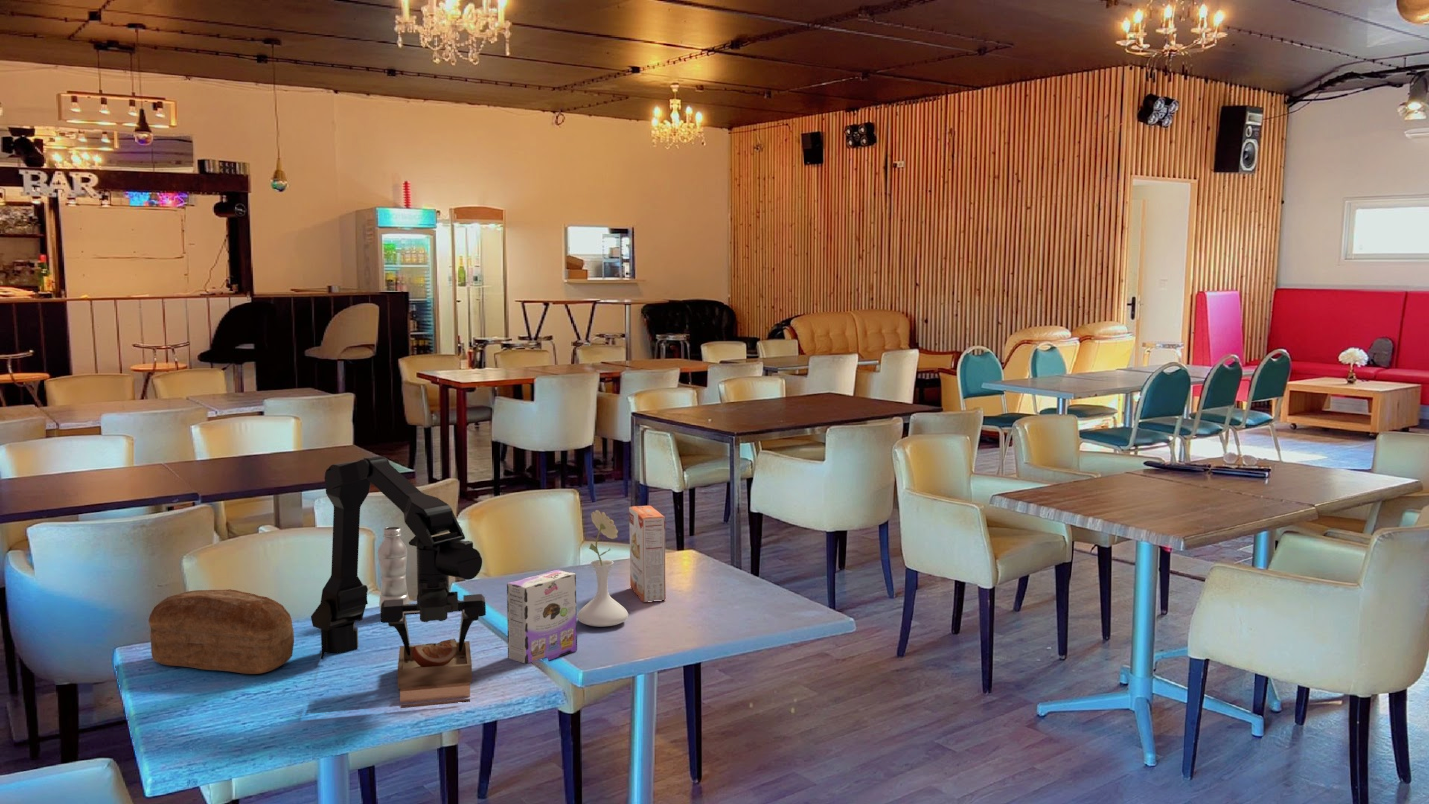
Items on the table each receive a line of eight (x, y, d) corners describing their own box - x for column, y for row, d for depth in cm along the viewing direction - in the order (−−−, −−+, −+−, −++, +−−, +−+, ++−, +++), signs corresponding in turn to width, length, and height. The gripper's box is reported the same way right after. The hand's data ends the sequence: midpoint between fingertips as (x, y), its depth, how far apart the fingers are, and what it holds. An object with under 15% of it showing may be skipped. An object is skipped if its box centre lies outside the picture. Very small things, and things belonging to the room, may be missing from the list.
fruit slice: (447, 659, 204) (447, 634, 203) (464, 668, 199) (464, 642, 198) (406, 668, 198) (406, 642, 198) (423, 677, 193) (422, 650, 193)
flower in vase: (635, 627, 233) (634, 515, 231) (584, 633, 229) (583, 519, 226) (618, 611, 245) (617, 504, 243) (569, 616, 241) (568, 508, 239)
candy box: (558, 645, 221) (557, 568, 220) (578, 651, 217) (577, 572, 216) (506, 662, 211) (505, 581, 209) (526, 669, 207) (525, 586, 205)
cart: (398, 693, 191) (397, 671, 190) (400, 667, 204) (399, 646, 204) (472, 686, 194) (471, 664, 193) (469, 661, 207) (469, 640, 207)
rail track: (399, 708, 187) (398, 691, 187) (403, 656, 214) (403, 641, 214) (471, 701, 190) (470, 685, 190) (466, 651, 217) (466, 637, 217)
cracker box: (628, 588, 265) (628, 505, 263) (652, 586, 266) (651, 504, 264) (641, 603, 251) (641, 517, 249) (666, 601, 253) (666, 515, 251)
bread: (185, 648, 219) (182, 580, 217) (303, 660, 212) (301, 590, 210) (140, 668, 207) (136, 596, 206) (264, 681, 200) (261, 607, 199)
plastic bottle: (401, 619, 238) (399, 532, 236) (373, 617, 240) (371, 530, 238) (415, 611, 244) (412, 526, 243) (388, 609, 246) (385, 524, 244)
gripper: (378, 585, 186) (380, 672, 188) (486, 579, 191) (487, 663, 193) (381, 570, 197) (383, 651, 199) (483, 564, 202) (484, 644, 203)
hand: (434, 653), depth 198 cm, fingers open, 9 cm apart
